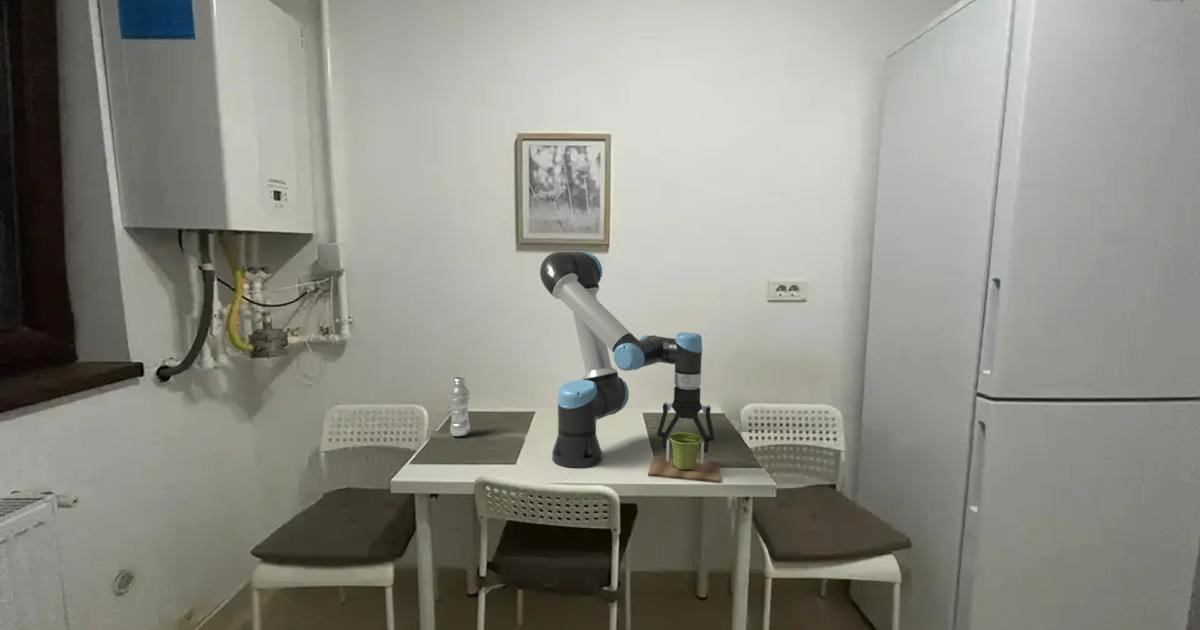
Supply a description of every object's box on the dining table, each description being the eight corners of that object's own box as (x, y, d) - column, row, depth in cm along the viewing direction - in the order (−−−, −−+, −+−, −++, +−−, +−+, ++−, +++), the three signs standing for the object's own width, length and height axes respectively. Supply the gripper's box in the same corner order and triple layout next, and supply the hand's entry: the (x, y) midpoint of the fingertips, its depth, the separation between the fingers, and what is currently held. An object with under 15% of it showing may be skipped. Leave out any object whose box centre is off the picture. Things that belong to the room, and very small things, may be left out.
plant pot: (705, 464, 169) (706, 436, 168) (693, 475, 161) (694, 445, 160) (676, 458, 174) (677, 430, 173) (663, 468, 166) (664, 439, 164)
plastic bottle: (446, 437, 192) (445, 379, 190) (457, 431, 199) (456, 375, 196) (463, 439, 191) (462, 381, 188) (473, 433, 197) (472, 376, 195)
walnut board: (647, 475, 163) (648, 473, 162) (653, 458, 176) (653, 455, 176) (719, 482, 158) (719, 480, 158) (719, 464, 172) (719, 461, 172)
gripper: (647, 387, 163) (646, 462, 166) (726, 392, 158) (723, 469, 161) (651, 381, 170) (649, 453, 173) (726, 385, 166) (723, 459, 168)
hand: (684, 461), depth 167 cm, fingers closed on plant pot, 9 cm apart
